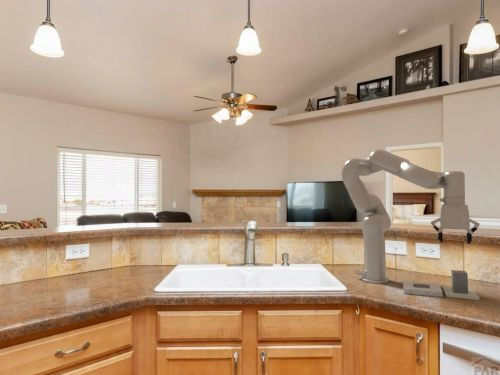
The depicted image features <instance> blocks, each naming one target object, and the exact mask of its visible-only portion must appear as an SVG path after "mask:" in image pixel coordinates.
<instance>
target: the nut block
mask: <svg viewBox="0 0 500 375" xmlns="http://www.w3.org/2000/svg"><path fill="white" fill-rule="evenodd" d="M450 272H451V273H450V274H451V287H452V290H453V292H454V293H463V294H468V289H469V280H468V279H469V276H468V275H469V274H468V273H467V271H466V270H455V269H451V271H450Z"/></svg>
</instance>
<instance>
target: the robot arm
mask: <svg viewBox="0 0 500 375" xmlns="http://www.w3.org/2000/svg"><path fill="white" fill-rule="evenodd" d="M380 171H384V172H387V173H389V174H392V175H394V176H397V177H398V178H400V179H403V180H405V181H407V182H409V183H411V184H413V185H416V186H419V187H421V188H423V189H427V190H438V189H443V197H442V198H439V202H441V203H442V204H441V208H440V217H439V218H436V219H433V220H432V221H430V224H431V225H432V227H433V229H434V230H435V231H436V232H437V234H438V235H437V238H438V241H439V242H440V243H443V242H444V241H443V240H444V239H443V236H444V235H443V234H444V233H443V231H444V230H465V231H466V232H467V233H466V243H467V244H468V245H471V243H472V242H473V239H472V238H473V236H472V235H473V234H474V233H475V231H477V230H478V228H479V227H480V225H481V224H480V223H479V222H478V221H475V220H473V219H471V218H470V210H469V205H468V204H466V182H465V181H466V178H465V177H466V175H465V173H464V172H463V171H460V170H458V171H457V170H453V171H452V170H451V171H446V172H442V171H441V172H440V171H433V170H430V169H426V168H424V167H421V166H420V165H419V166H418V165H416V164H414V163H412V162H411V161H410V160H409V159H407V158H404V157H401V156H398V155H396V154H394V153H391V152H390V151H387V150H383V149H375V150H373V151H372V152H371V153H370V154H369V157H366V158H365V159H363V158H362V159H361V158H357V157H356V158H350V159H348V160H347V161H346V162H345V163H344V164H343V167H342V169H341V174H340V175H341V180H342V182H343V184H344V187H345V189H346V190H347V192H348V195H349V197H350V199H351V201H352V202H353V203H352V204H353V205H354V207H355V209H356V211H357V212H358V213H360V214H367V215H366V216H365V217H364V218H363V220H362V223H361V230H362V235H363V251H364V252H363V253H364V254H363V255H364V269H362V270H355V272H354V274H355V275H357V276H361V281H363V282H365V283H369V284H388V283H389V282H391V281H390V280H391V278H389V277H387V269H386V268H387V266H386V265H387V262H386V260H387V259H386V242H385V235H384V232H387V231H389V229H390V228H391V225H392V221H391V217H390V215H389V213H388V211H387V210H386V208H385V205H384V204H383V201H382V200H381V199H380V198H379V197H378V196H377V195H376V194H373V193H370V192H369V191H368V189H367V187H366V185H365V184H364V182H363V181H362V179H361V178H360V177H365V176H370V175H372V174H376V173H378V172H380ZM437 223H439V224H440V227H438V226H437V225H436V224H437ZM471 224H473V225H474V226H473V227H472V228H471Z"/></svg>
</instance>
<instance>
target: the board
mask: <svg viewBox="0 0 500 375" xmlns="http://www.w3.org/2000/svg"><path fill="white" fill-rule="evenodd" d="M442 291H443V292H444V294H445V297H446V298H452V299H453V298H455V299H463V300H464V299H465V300H474V301H475V300H476V301H480V296H479V294H478V293H477V292H476V291H475V290H474V288H468V294H463V293H454V292H453V290H452V286H442Z"/></svg>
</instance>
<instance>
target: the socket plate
mask: <svg viewBox="0 0 500 375" xmlns="http://www.w3.org/2000/svg"><path fill="white" fill-rule="evenodd" d="M402 287H403V289H402V290H403V294H404V295H414V296H424V297H437V298H443V289H442V288H441V286H440V284H439V282H429V281H428V282H426V281H425V282H424V281H416V280H402Z"/></svg>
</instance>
